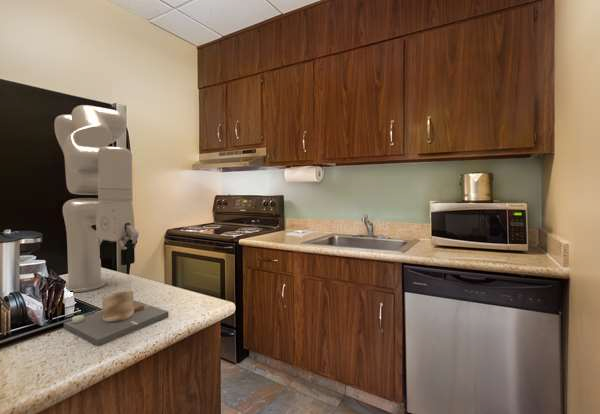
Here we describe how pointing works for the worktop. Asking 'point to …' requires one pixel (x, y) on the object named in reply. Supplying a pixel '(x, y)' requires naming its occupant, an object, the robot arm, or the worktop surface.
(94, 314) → the base plate
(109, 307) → the levelling knob
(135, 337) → the worktop surface
